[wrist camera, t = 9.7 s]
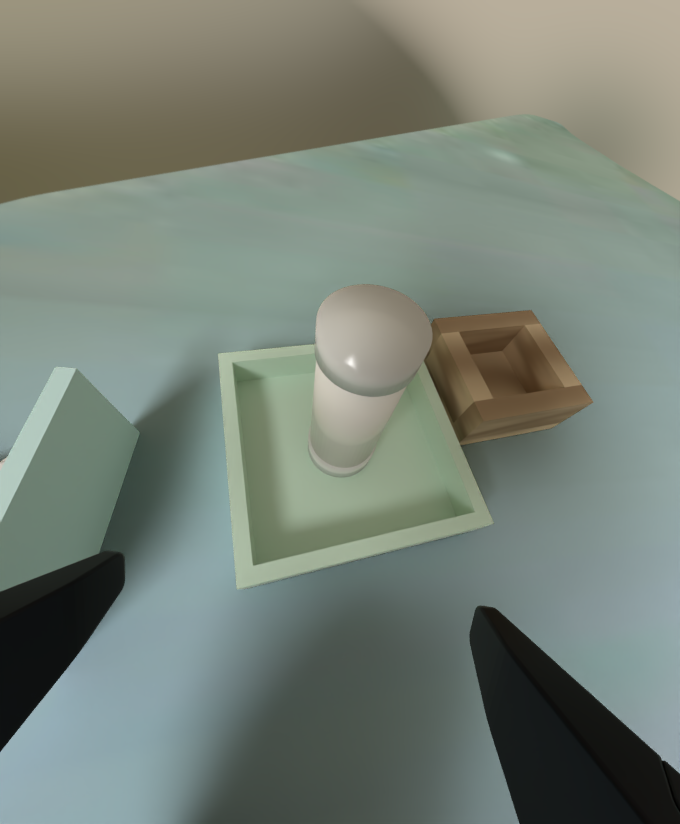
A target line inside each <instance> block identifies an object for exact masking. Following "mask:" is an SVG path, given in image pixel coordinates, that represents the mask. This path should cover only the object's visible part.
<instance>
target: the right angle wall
mask: <svg viewBox="0 0 680 824" xmlns="http://www.w3.org/2000/svg"><path fill="white" fill-rule="evenodd" d="M139 434H140V432H139V431H138V430H137V429H136V428H135V427H134V426H133V425H132V424H131V423H130V422H129V421H128V420H127V419H126V418H125V417H124V416H123V415H122V414H121V413H120V412H119V411H118V410H117V409H116V408H115V407H114V406H113V405H112V404H111V403H110V402H109V401H108V400H107V399H106V398H105V397H104V396H103V395H102V394H101V393H100V392H99V391H98V390H97V389H96V388H95V387H94V386H93V385H92V384H91V383H90V382H89V381H88V380H87V379H86V378H85V377H84V376H83V375H82V374H81V373H80V372H79V371H78V370H77V369H76V368H63V367H55V369H54V371H53V372H52V374H51V376H50V378H49V380H48V382H47V384H46V386H45V387H44V389H43V391H42V393H41V395H40V397H39V399H38V401H37V402H36V404H35V406H34V408H33V410H32V412H31V414H30V416H29V417H28V419H27V421H26V423H25V425H24V427H23V429H22V431H21V432H20V434H19V436H18V438H17V440H16V442H15V444H14V446H13V447H12V449H11V451H10V453H9V455H8V457H6V458H5V459H4V460H2V461H1V462H0V591H3V590H6V589H8V588H11V587H13V586H16V585H18V584H21V583H24V582H26V581H29V580H31V579H34V578H36V577H39V576H42V575H44V574H47V573H49V572H52V571H55V570H57V569H60V568H62V567H65V566H67V565H70V564H73V563H75V562H78V561H80V560H83V559H85V558H88V557H91V556H93V555H96V554H98V553H99V552H100V549H101V546H102V543H103V540H104V537H105V534H106V531H107V528H108V525H109V522H110V519H111V516H112V514H113V511H114V508H115V505H116V502H117V499H118V496H119V493H120V490H121V487H122V484H123V481H124V478H125V475H126V472H127V469H128V466H129V463H130V461H131V458H132V455H133V452H134V449H135V446H136V443H137V440H138V437H139Z"/></svg>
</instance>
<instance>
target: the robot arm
mask: <svg viewBox="0 0 680 824" xmlns="http://www.w3.org/2000/svg"><path fill="white" fill-rule="evenodd" d="M124 583H125V557H124V555H123V553H121V552H115V551H104V552H101V553H98V554H96V555H93V556H91V557H88V558H85V559H83V560H80V561H78V562H75V563H73V564H70V565H67V566H65V567H62V568H60V569H57V570H55V571H52V572H49V573H47V574H44V575H42V576H39V577H36V578H34V579H31V580H29V581H26V582H24V583H21V584H18V585H16V586H13V587H11V588H8V589H6V590H3V591H0V752H1V750H2V749H3V748H4V746H5V745H6V744H7V743H8V741H9V740H10V739H11V738H12V736H13V735H14V734H15V733H16V731H17V730H18V729H19V728H20V726H21V725H22V724H23V723H24V721H25V720H26V719H27V718H28V716H29V715H30V714H31V713H32V711H33V710H34V709H35V708H36V706H37V705H38V704H39V703H40V701H41V700H42V699H43V698H44V696H45V695H46V694H47V693H48V691H49V690H50V689H51V688H52V686H53V685H54V684H55V683H56V681H57V680H58V679H59V678H60V676H61V675H62V674H63V673H64V671H65V670H66V669H67V668H68V666H69V665H70V664H71V663H72V661H73V660H74V659H75V657H76V656H77V655H78V653H79V652H80V651H81V649H82V648H83V646H84V645H85V644H86V642H87V641H88V639H89V638H90V636H91V635H92V633H93V632H94V630H95V629H96V628H97V626H98V625H99V623H100V622H101V620H102V619H103V617H104V616H105V614H106V613H107V611H108V610H109V608H110V607H111V605H112V604H113V602H114V601H115V600H116V598H117V597H118V595H119V594H120V592H121V590H122V588H123V586H124ZM470 646H471V650H472V655H473V659H474V664H475V668H476V673H477V677H478V682H479V686H480V691H481V695H482V700H483V704H484V709H485V713H486V717H487V721H488V724H489V727H490V731H491V734H492V737H493V741H494V744H495V747H496V750H497V753H498V757H499V760H500V763H501V766H502V769H503V772H504V776H505V779H506V782H507V785H508V788H509V792H510V795H511V798H512V801H513V804H514V808H515V811H516V814H517V817H518V820H519V823H520V824H680V774H679V773H678V772H677V771H676V770H675V769H674V768H673V767H672V766H671V765H669V764H668V763H667V762H666V761H662V760H661V757H660V756H659V755H658V754H657V753H656V752H655V751H654V750H653V749H651V748H650V747H649V746H648V745H647V744H646V743H645V742H644V741H643V740H641V739H640V738H639V737H638V736H637V735H636V734H635V733H634V732H633V731H631V730H630V729H629V728H628V727H627V726H626V725H625V724H624V723H623V722H621V721H620V720H619V719H618V718H617V717H616V716H615V715H614V714H613V713H611V712H610V711H609V710H608V709H607V708H606V707H605V706H604V705H603V704H601V703H600V702H599V701H598V700H597V699H596V698H595V697H594V696H593V695H591V694H590V693H589V692H588V691H587V690H586V689H585V688H584V687H583V686H581V685H580V684H579V683H578V682H577V681H576V680H575V679H574V678H573V677H571V676H570V675H569V674H568V673H567V672H566V671H565V670H564V669H562V668H561V667H560V666H559V665H558V664H557V663H556V662H555V661H554V660H552V659H551V658H550V657H549V656H548V655H547V654H546V653H545V652H544V651H542V650H541V649H540V648H539V647H538V646H537V645H536V644H535V643H534V642H532V641H531V640H530V639H529V638H528V637H527V636H526V635H525V634H524V633H522V632H521V631H520V630H519V629H518V628H517V627H516V626H515V625H514V624H512V623H511V622H510V621H509V620H508V619H507V618H506V617H505V616H504V615H502V614H501V613H500V612H499V611H498V610H497V609H495V608H493V607H487V606H478V607H477V608H476V610H475V613H474V617H473V621H472V626H471V630H470Z"/></svg>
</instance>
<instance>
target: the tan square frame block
mask: <svg viewBox="0 0 680 824" xmlns="http://www.w3.org/2000/svg"><path fill="white" fill-rule="evenodd" d="M431 327H432V333H433V337H432V344H431V347H430V349H429V351H428V353H427V355H426V357H425V359H424V362H425V365H426V367H427V369H428V372H429V374H430V376H431V379H432V381H433V383H434V386H435V388H436V390H437V392H438V395H439V397H440V399H441V402H442V404H443V406H444V409H445V411H446V413H447V416H448V418H449V420H450V423H451V425H452V427H453V430H454V432H455V434H456V436H457V439H458V441H459V443H460V445H466V444H471V443H476V442H482V441H487V440H492V439H498V438H503V437H508V436H514V435H519V434H524V433H529V432H535V431H540V430H545V429H551V428H553V427H554V426H556V425H558V424H559V423H561V422H563V421H564V420H566V419H567V418H569V417H571V416H572V415H574V414H575V413H577V412H579V411H580V410H582V409H583V408H585V407H587V406H588V405H590V404H591V403H593V401H592V399H591V398H590V396H589V395H588V394H587V392H586V391H585V389H584V388H583V386H582V385H581V383H580V382H579V380H578V379H577V377H576V376H575V374H574V373H573V371H572V370H571V368H570V367H569V365H568V364H567V362H566V361H565V359H564V358H563V356H562V355H561V354H560V352H559V351H558V349H557V348H556V346H555V345H554V343H553V342H552V340H551V339H550V337H549V336H548V334H547V333H546V331H545V330H544V328H543V327H542V325H541V324H540V322H539V321H538V319H537V318H536V316H535V315H534V314H533V312H532V311H531V310H528V311H517V312H506V313H494V314H483V315H472V316H461V317H449V318H438V319H434V320H433V322H432V324H431Z"/></svg>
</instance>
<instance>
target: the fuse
mask: <svg viewBox="0 0 680 824" xmlns="http://www.w3.org/2000/svg"><path fill="white" fill-rule="evenodd" d="M432 337H433V333H432V327H431V324H430V321H429V319H428V317H427V316H426V314H425V312H424V311H423V310H422V309H421V307H420V306H418V305H417V304H416V303H415V302H414V301H413V300H412V299H410V298H409V297H407V296H406V295H404V294H402V293H400V292H398V291H396V290H393V289H390V288H387V287H383V286H379V285H370V284H361V285H352V286H348V287H344V288H342V289H339V290H337V291H335V292H333V293H332V294H331V295H329V296H328V297H327V298H326V299H325V300H324V301H323V303H322V304H321V306H320V308H319V310H318V313H317V319H316V333H315V347H314V350H315V358H316V367H315V380H314V393H313V405H312V418H311V426H310V429H309V435H308V453H309V456H310V458H311V460H312V462H313V463H314V465H315V466H316V467H317V468H318V469H319V470H320V471H322V472H323V473H325V474H327V475H330V476H333V477H349V476H353V475H355V474H357V473H359V472H360V471H361V470H363V469H364V468H365V466H366V465H367V464H368V462H369V460H370V458H371V457H372V455H373V453H374V451H375V448H376V444H377V442H378V440H379V438H380V436H381V434H382V432H383V430H384V428H385V427H386V425H387V423H388V421H389V419H390V417H391V415H392V413H393V411H394V409H395V408H396V406H397V404H398V402H399V400H400V398H401V396H402V394H403V392H404V391H405V389H406V387H407V385H408V384H409V383H410V382H411V381H412V380H413V378H414V377H415V375H416V373H417V372H418V370H419V368H420V366H421V364H422V362H423V361H424V359H425V357H426V355H427V353H428V351H429V349H430V347H431V344H432Z"/></svg>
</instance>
